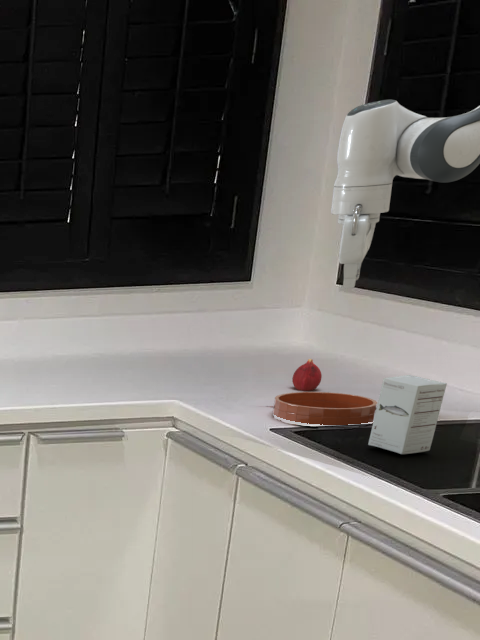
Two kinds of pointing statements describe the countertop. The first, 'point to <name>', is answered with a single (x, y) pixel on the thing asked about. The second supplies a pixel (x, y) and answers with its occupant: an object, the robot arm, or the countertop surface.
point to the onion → (307, 376)
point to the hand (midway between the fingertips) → (350, 283)
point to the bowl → (325, 408)
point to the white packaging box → (407, 414)
